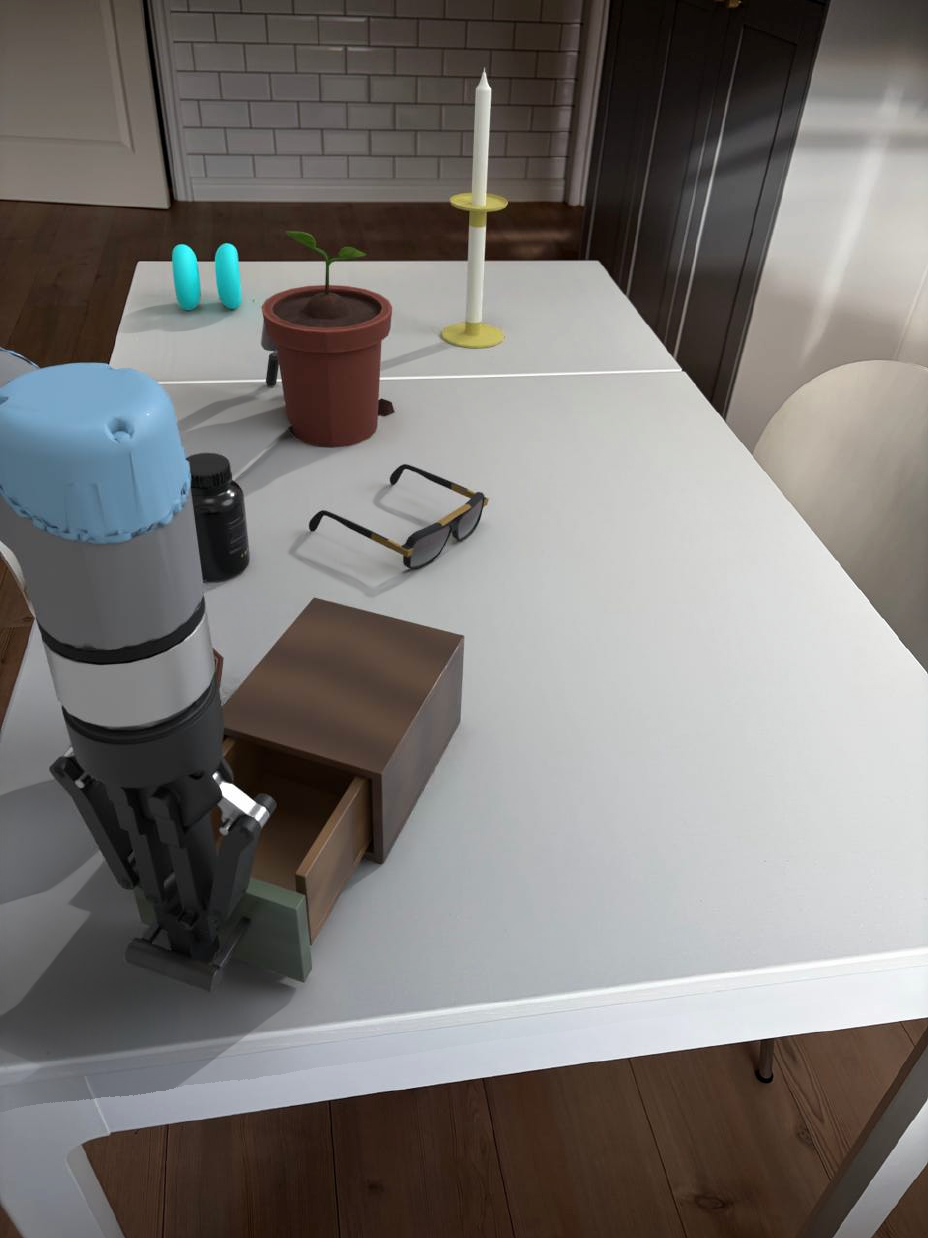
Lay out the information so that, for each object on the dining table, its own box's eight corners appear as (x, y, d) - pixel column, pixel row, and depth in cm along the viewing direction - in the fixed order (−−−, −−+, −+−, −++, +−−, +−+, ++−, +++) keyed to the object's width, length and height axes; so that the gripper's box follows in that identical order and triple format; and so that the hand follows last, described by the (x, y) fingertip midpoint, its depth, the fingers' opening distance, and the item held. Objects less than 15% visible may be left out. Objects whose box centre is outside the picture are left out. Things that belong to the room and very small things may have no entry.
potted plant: (254, 456, 123) (233, 250, 107) (266, 382, 140) (249, 196, 125) (397, 454, 124) (396, 251, 109) (392, 382, 141) (390, 198, 126)
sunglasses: (391, 483, 118) (390, 445, 115) (494, 527, 111) (496, 489, 108) (308, 531, 109) (306, 491, 106) (415, 582, 102) (415, 542, 99)
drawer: (265, 1054, 61) (253, 981, 56) (94, 987, 64) (69, 913, 59) (397, 815, 76) (397, 742, 72) (255, 771, 79) (245, 698, 75)
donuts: (181, 297, 165) (172, 236, 159) (242, 296, 167) (236, 235, 161) (178, 319, 157) (169, 255, 151) (242, 317, 159) (236, 254, 153)
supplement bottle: (172, 577, 102) (154, 474, 94) (202, 542, 107) (187, 442, 100) (235, 588, 100) (221, 485, 93) (261, 552, 106) (251, 452, 98)
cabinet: (383, 864, 74) (381, 774, 68) (223, 812, 77) (208, 722, 71) (460, 721, 86) (464, 635, 80) (319, 682, 90) (313, 596, 84)
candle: (443, 322, 160) (449, 59, 138) (504, 325, 160) (521, 63, 138) (439, 346, 152) (445, 71, 130) (504, 349, 152) (521, 75, 130)
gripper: (293, 670, 50) (317, 945, 64) (76, 609, 53) (145, 884, 68) (214, 770, 44) (259, 1048, 59) (-23, 695, 48) (75, 976, 62)
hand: (198, 960), depth 63 cm, fingers closed
